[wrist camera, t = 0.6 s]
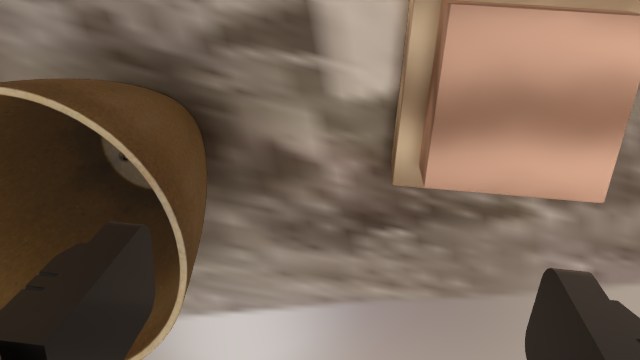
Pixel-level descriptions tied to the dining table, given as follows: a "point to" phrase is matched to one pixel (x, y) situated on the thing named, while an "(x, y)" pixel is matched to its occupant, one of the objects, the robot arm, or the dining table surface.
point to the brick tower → (516, 96)
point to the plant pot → (99, 182)
